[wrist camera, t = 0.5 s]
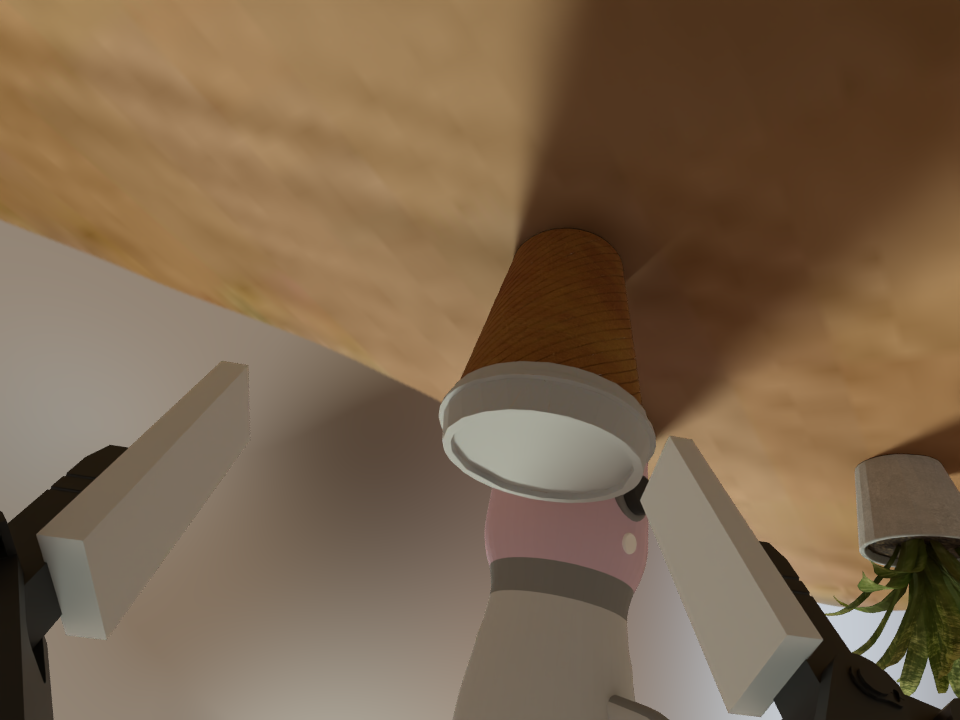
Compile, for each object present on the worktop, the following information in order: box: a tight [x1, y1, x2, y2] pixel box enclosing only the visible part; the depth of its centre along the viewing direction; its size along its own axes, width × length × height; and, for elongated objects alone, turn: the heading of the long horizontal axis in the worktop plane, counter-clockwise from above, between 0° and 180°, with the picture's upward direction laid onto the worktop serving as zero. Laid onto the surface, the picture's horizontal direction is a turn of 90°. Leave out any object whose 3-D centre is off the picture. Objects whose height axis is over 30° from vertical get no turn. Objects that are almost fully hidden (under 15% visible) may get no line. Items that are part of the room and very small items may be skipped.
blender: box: [453, 462, 669, 720], centre depth 32 cm, size 16×12×32 cm
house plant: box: [825, 454, 960, 698], centre depth 32 cm, size 14×14×16 cm
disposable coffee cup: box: [439, 229, 656, 503], centre depth 24 cm, size 10×10×12 cm
